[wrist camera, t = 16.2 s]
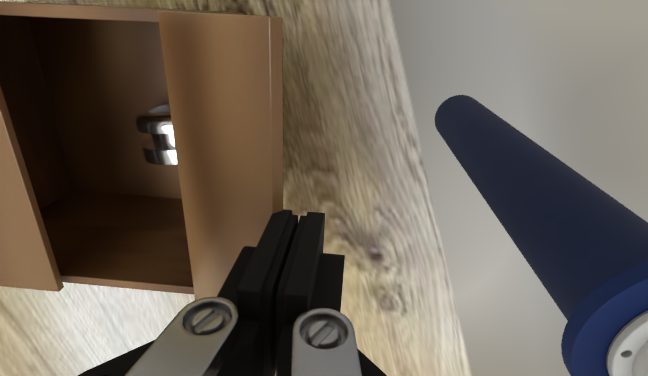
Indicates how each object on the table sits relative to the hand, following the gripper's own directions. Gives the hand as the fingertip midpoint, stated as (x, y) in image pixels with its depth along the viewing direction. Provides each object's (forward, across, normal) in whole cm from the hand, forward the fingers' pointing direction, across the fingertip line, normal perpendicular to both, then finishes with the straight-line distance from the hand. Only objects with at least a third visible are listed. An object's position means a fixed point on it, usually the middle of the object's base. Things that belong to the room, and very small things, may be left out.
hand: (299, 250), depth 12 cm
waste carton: (+16, +14, 0) cm, 21 cm away
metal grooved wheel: (+15, +10, 0) cm, 18 cm away
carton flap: (+2, +3, 0) cm, 4 cm away
